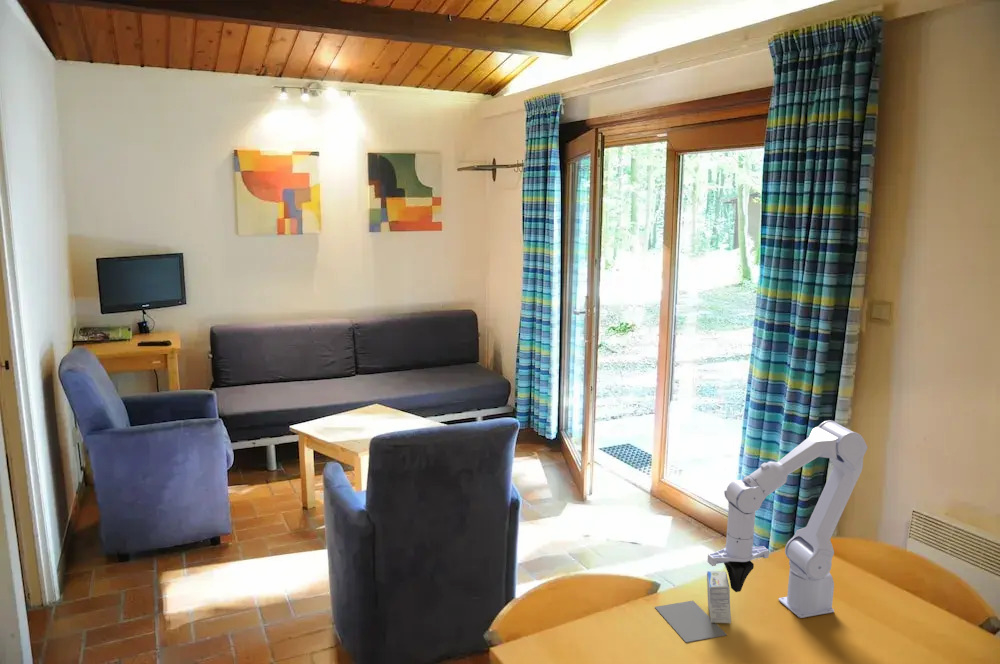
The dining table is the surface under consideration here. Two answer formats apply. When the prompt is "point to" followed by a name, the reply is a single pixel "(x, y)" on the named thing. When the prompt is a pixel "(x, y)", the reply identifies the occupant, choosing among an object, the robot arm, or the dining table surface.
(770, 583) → the dining table surface
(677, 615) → the grey mat
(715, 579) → the medicine box
